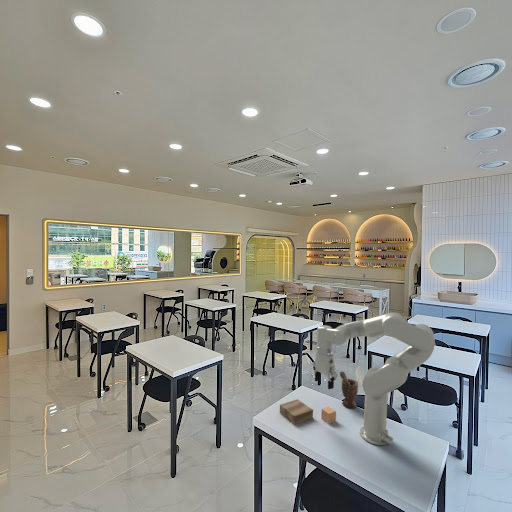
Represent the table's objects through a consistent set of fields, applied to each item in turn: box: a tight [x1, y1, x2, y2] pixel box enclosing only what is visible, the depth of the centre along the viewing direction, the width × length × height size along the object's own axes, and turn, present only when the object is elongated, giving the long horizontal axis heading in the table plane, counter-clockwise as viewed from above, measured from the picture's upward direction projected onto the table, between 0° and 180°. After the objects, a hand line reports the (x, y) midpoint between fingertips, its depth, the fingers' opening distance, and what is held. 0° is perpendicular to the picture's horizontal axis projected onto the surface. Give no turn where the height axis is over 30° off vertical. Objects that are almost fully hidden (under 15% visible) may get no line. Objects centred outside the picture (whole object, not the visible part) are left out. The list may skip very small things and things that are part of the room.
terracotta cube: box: [320, 406, 337, 424], centre depth 146 cm, size 5×5×5 cm
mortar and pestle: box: [339, 371, 359, 409], centre depth 159 cm, size 12×9×20 cm
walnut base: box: [279, 398, 314, 425], centre depth 149 cm, size 12×12×4 cm
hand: (323, 384), depth 145 cm, fingers open, 9 cm apart
